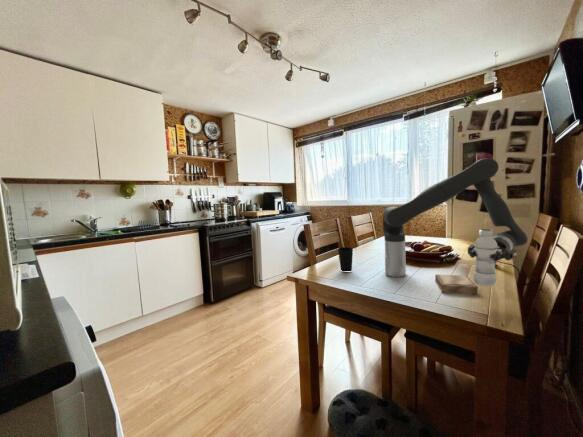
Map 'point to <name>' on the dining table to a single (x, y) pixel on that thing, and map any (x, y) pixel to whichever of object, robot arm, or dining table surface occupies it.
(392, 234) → the robot arm
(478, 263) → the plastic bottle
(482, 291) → the dining table surface
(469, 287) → the plinth
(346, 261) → the cup
